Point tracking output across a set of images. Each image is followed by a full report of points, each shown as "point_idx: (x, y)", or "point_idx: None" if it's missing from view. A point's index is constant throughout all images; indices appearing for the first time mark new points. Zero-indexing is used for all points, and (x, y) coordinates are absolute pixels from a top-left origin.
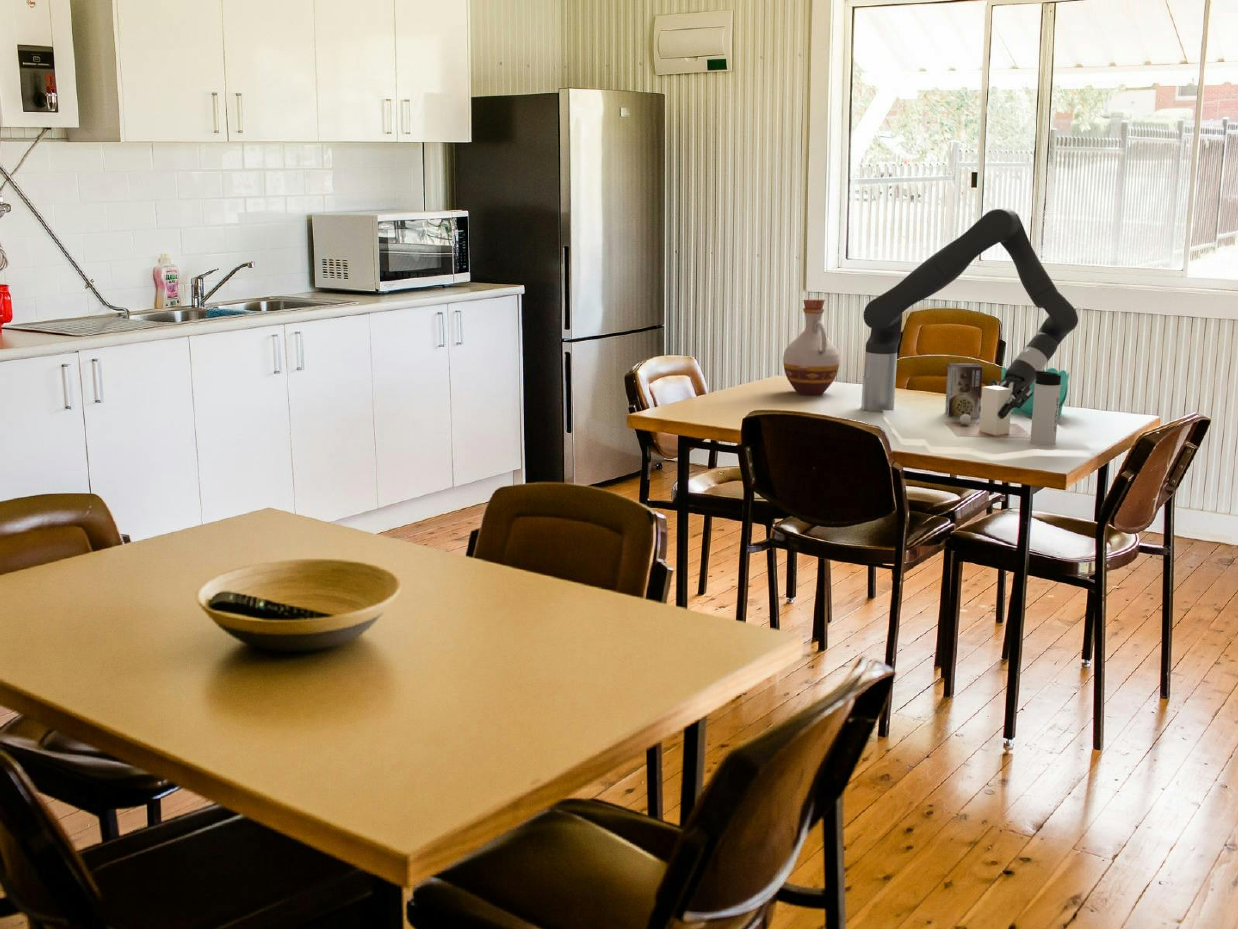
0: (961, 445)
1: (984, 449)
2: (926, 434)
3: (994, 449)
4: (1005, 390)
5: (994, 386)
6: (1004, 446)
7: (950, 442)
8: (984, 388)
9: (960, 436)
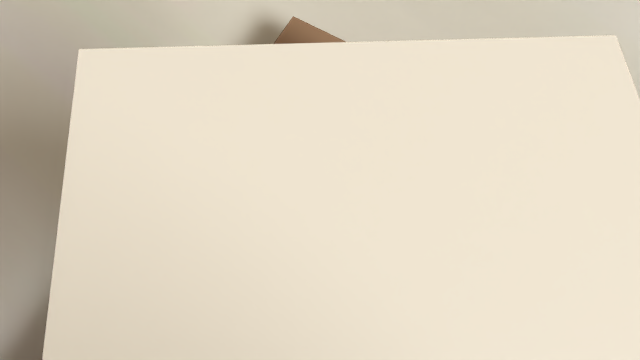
0: (207, 7)
1: (57, 44)
2: (528, 27)
3: (21, 92)
4: (62, 286)
5: (629, 355)
6: (46, 207)
7: (297, 6)
8: (536, 56)
9: (283, 31)
